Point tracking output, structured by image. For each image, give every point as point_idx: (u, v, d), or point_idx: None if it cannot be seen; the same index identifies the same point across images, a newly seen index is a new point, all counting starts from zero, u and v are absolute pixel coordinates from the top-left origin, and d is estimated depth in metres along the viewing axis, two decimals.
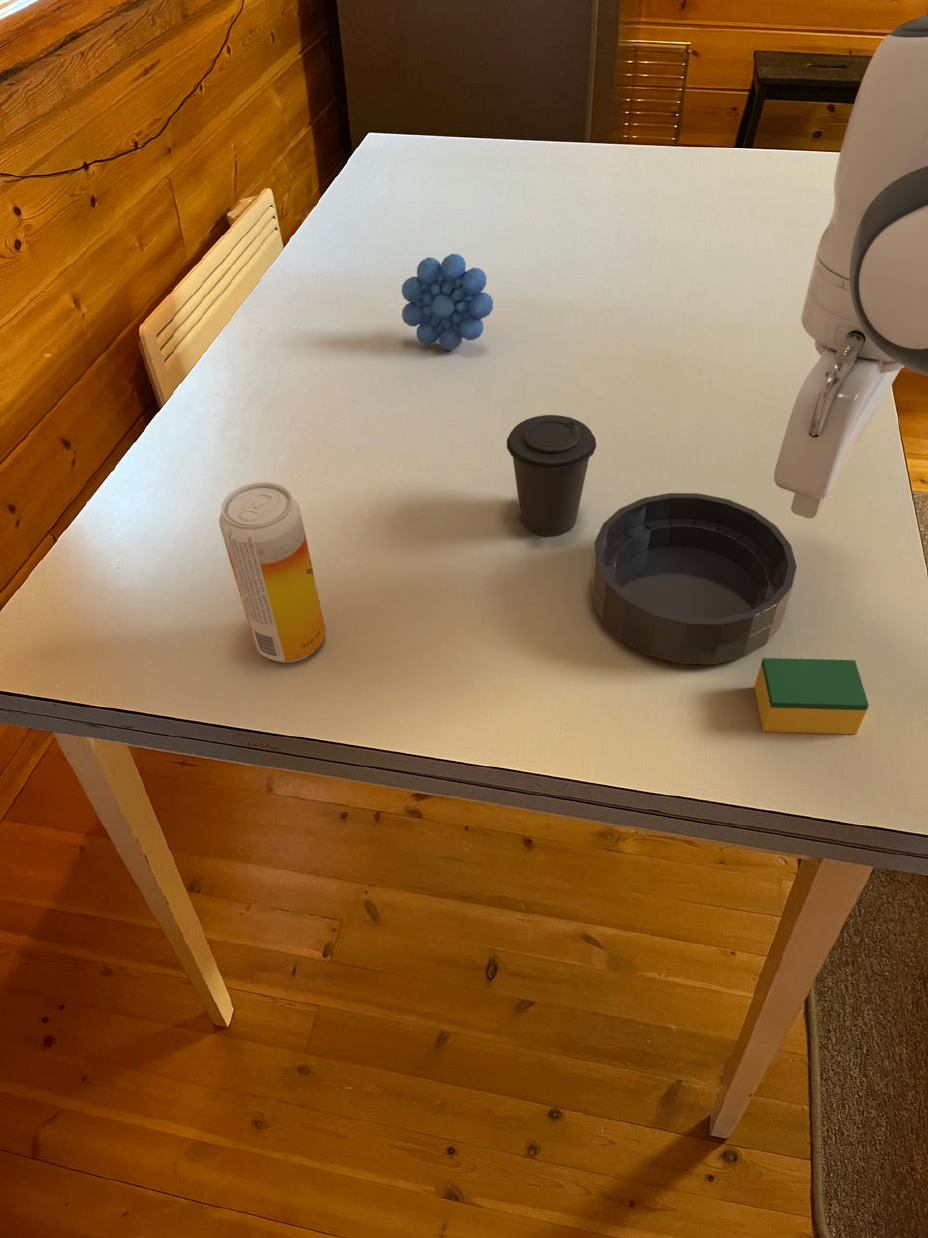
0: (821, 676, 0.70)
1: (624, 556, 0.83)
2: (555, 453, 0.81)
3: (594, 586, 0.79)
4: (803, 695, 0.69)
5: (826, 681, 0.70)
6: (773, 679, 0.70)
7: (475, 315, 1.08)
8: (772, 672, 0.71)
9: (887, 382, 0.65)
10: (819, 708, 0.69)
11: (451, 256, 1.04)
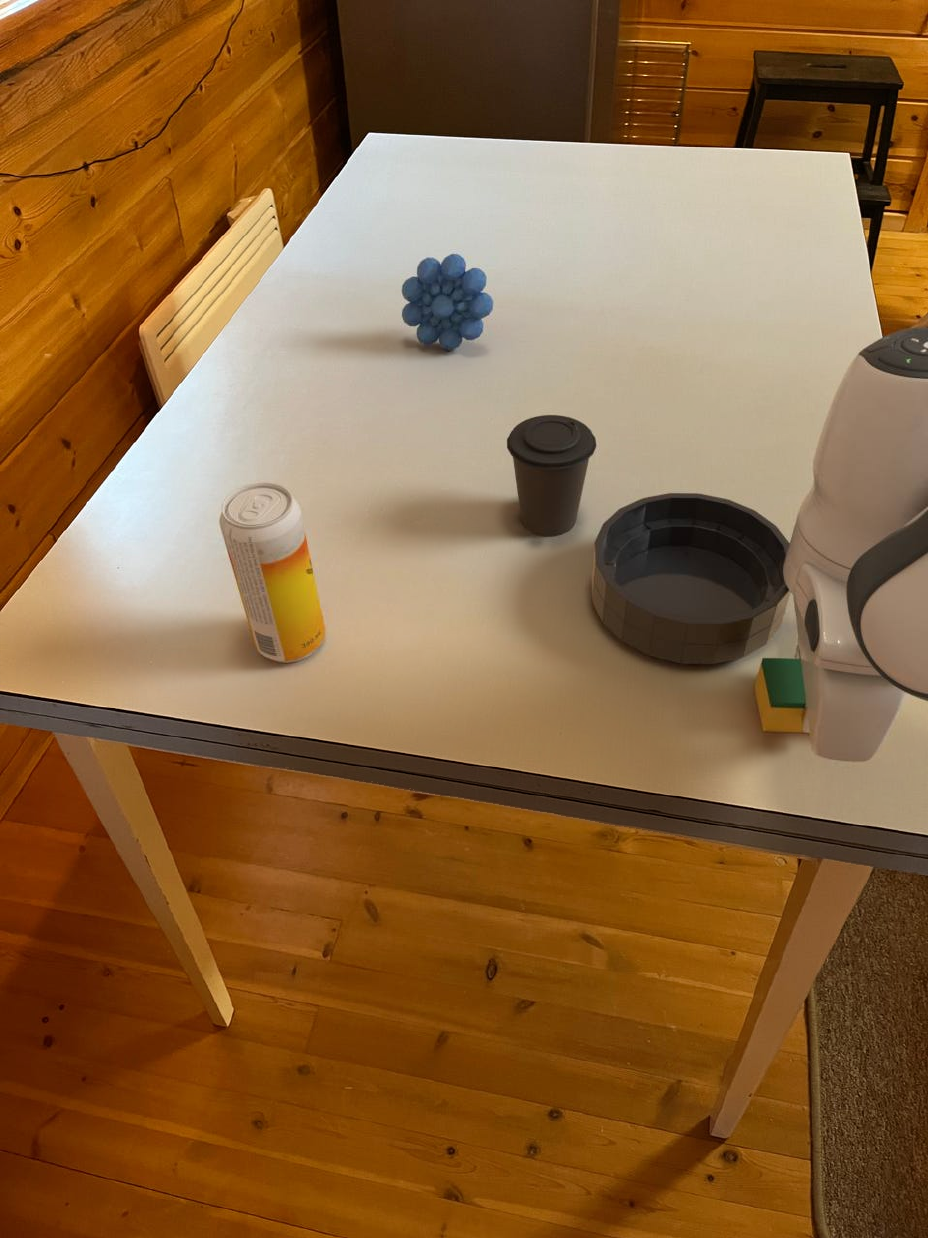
0: None
1: (624, 556, 0.83)
2: (555, 453, 0.81)
3: (594, 586, 0.79)
4: (803, 695, 0.69)
5: None
6: (773, 679, 0.70)
7: (475, 315, 1.08)
8: (772, 672, 0.71)
9: (809, 660, 0.65)
10: None
11: (451, 256, 1.04)
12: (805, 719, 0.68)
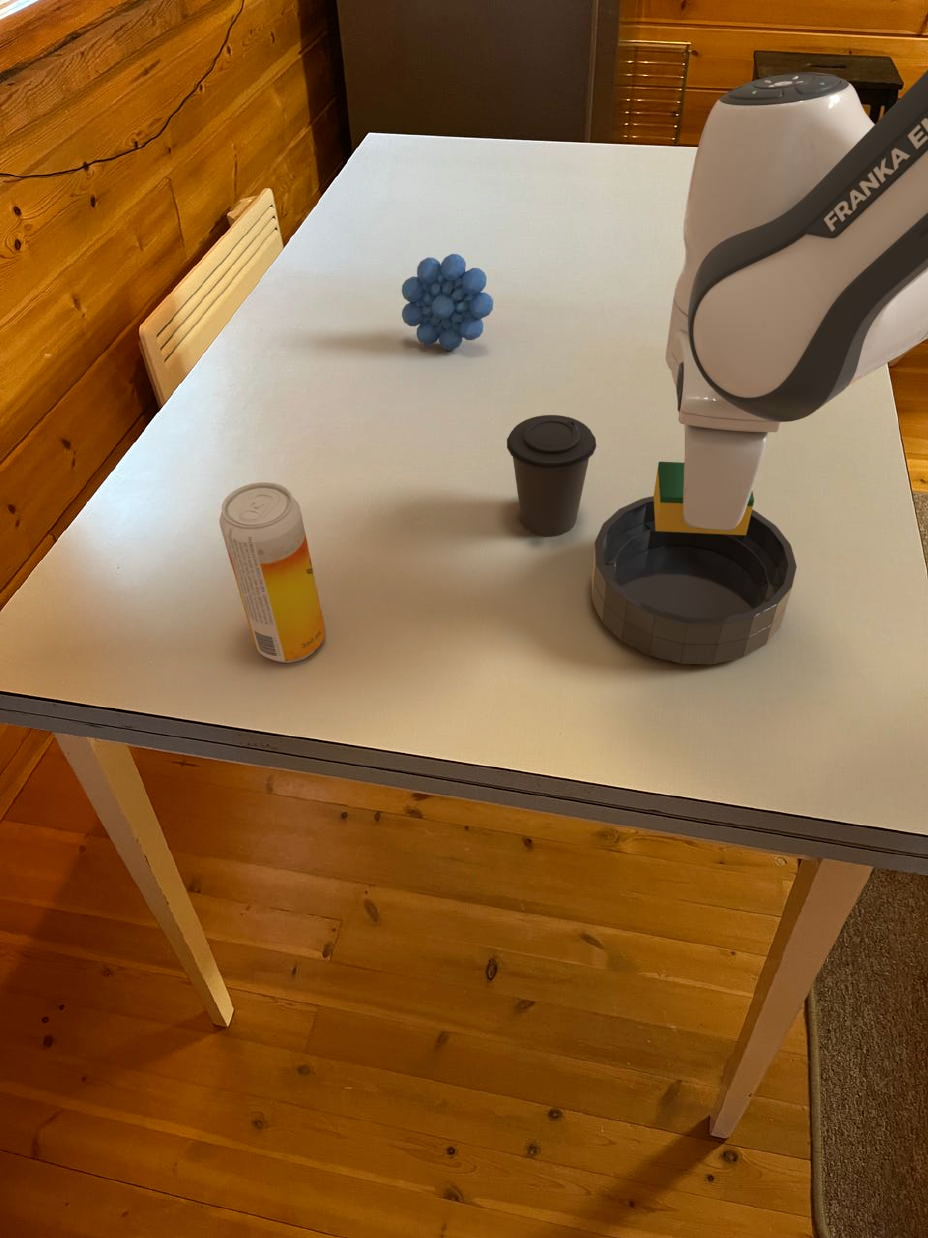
0: None
1: (624, 556, 0.83)
2: (555, 453, 0.81)
3: (594, 586, 0.79)
4: None
5: None
6: (665, 478, 0.72)
7: (475, 315, 1.08)
8: (666, 472, 0.73)
9: None
10: None
11: (451, 256, 1.04)
12: None
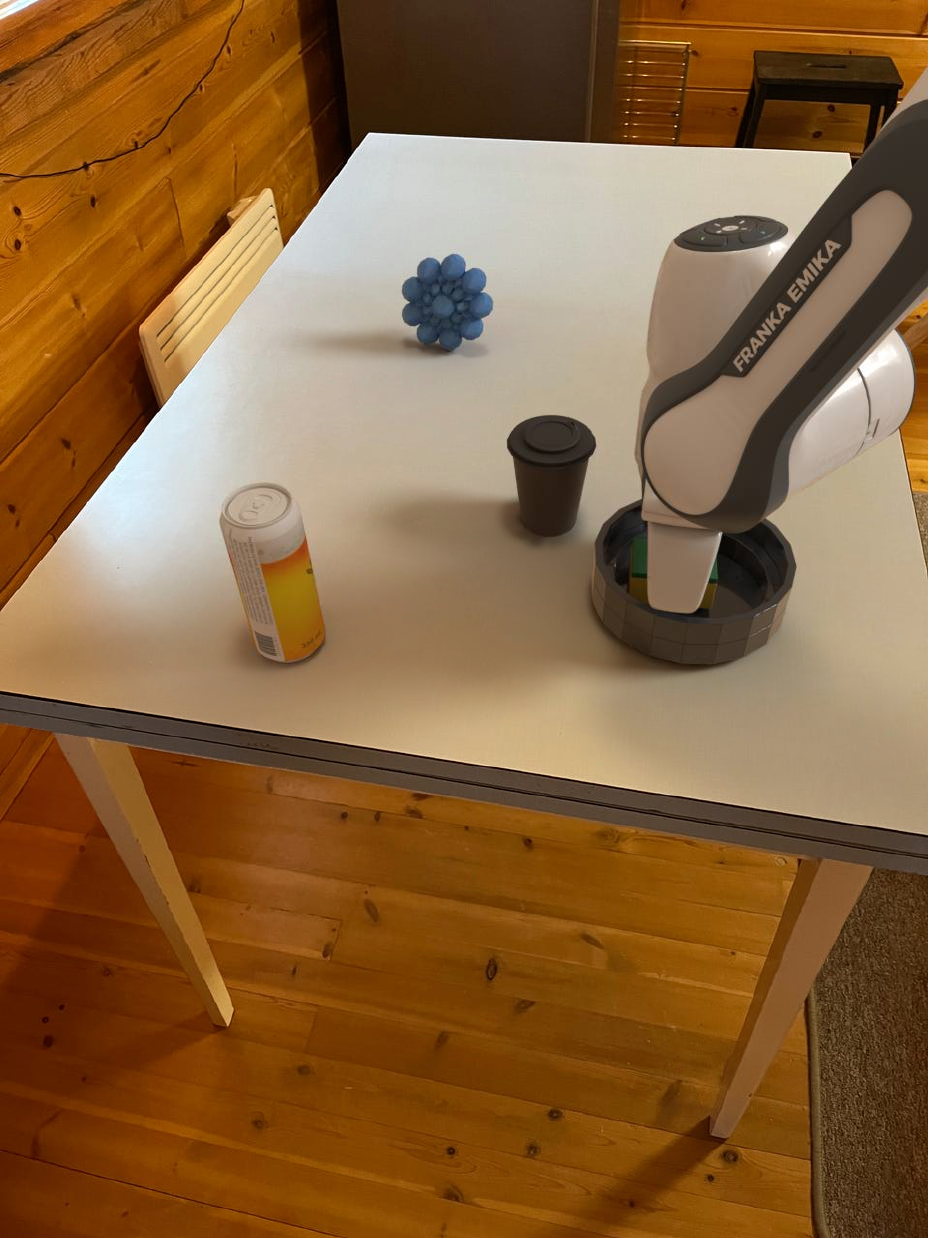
0: None
1: (624, 556, 0.83)
2: (555, 453, 0.81)
3: (594, 586, 0.79)
4: None
5: None
6: (638, 554, 0.79)
7: (475, 315, 1.08)
8: (638, 549, 0.79)
9: None
10: None
11: (451, 256, 1.04)
12: None
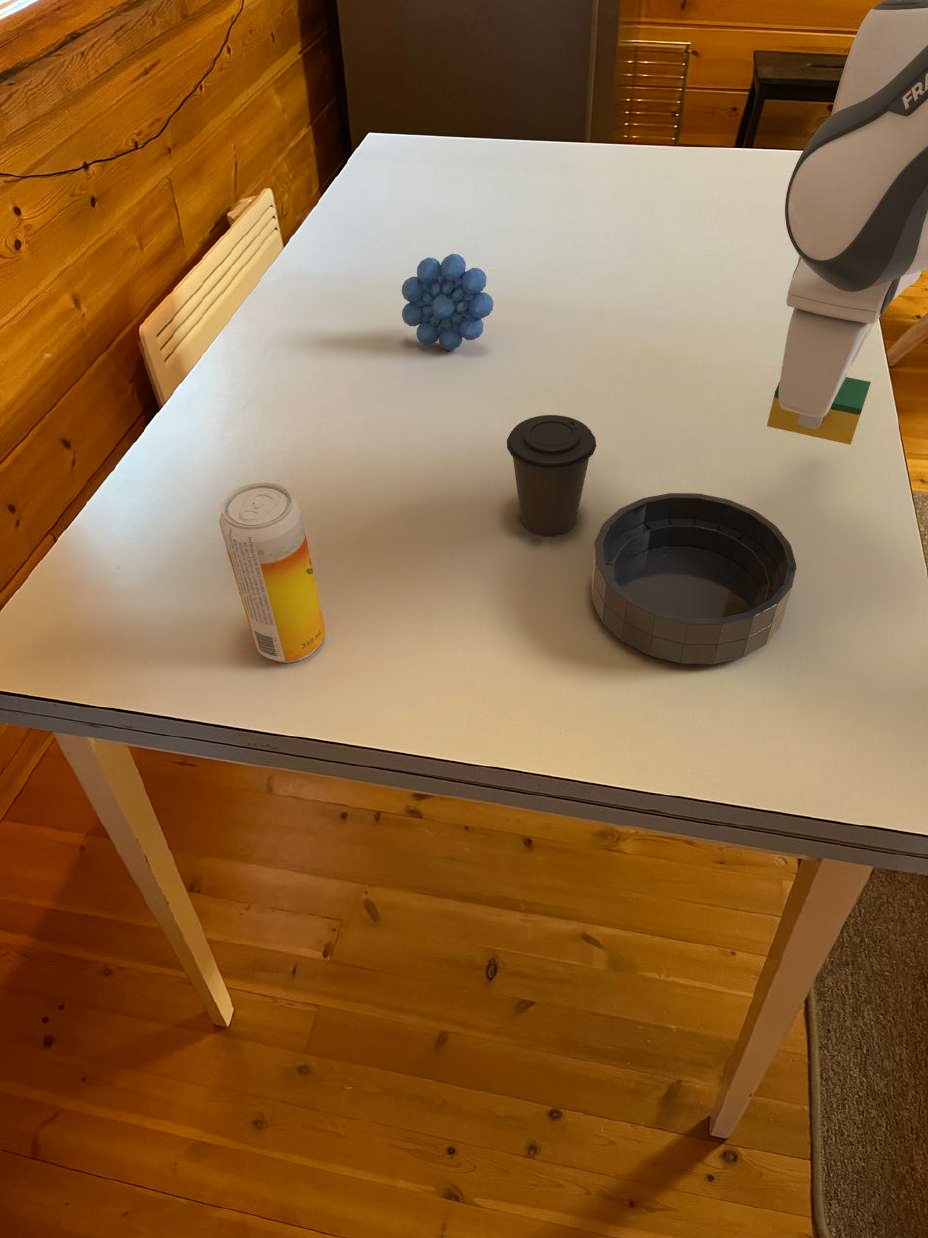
0: None
1: (624, 556, 0.83)
2: (555, 453, 0.81)
3: (594, 586, 0.79)
4: None
5: None
6: None
7: (475, 315, 1.08)
8: None
9: None
10: None
11: (451, 256, 1.04)
12: None
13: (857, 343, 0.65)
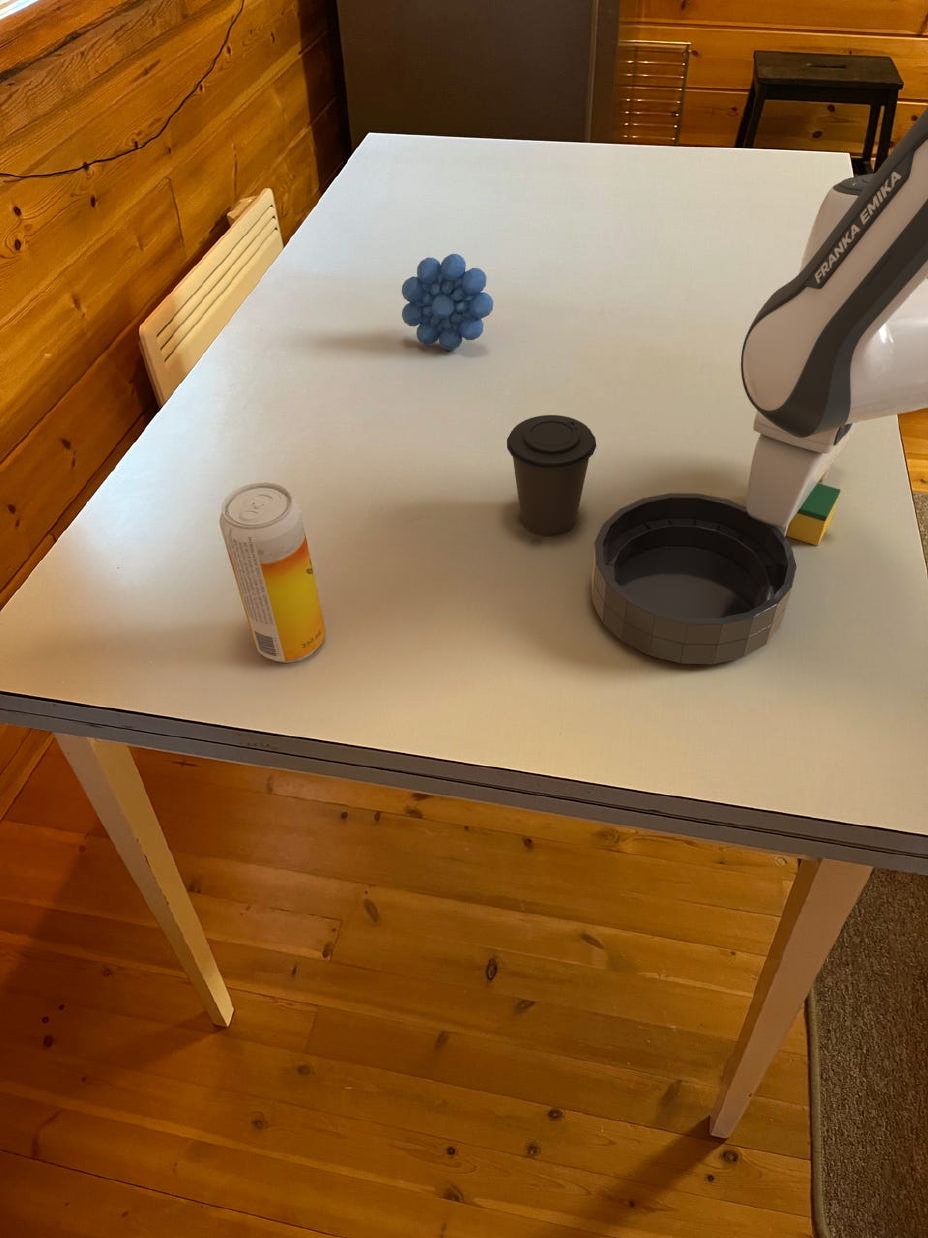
0: None
1: (624, 556, 0.83)
2: (555, 453, 0.81)
3: (594, 586, 0.79)
4: None
5: None
6: None
7: (475, 315, 1.08)
8: None
9: None
10: None
11: (451, 256, 1.04)
12: None
13: (812, 469, 0.73)
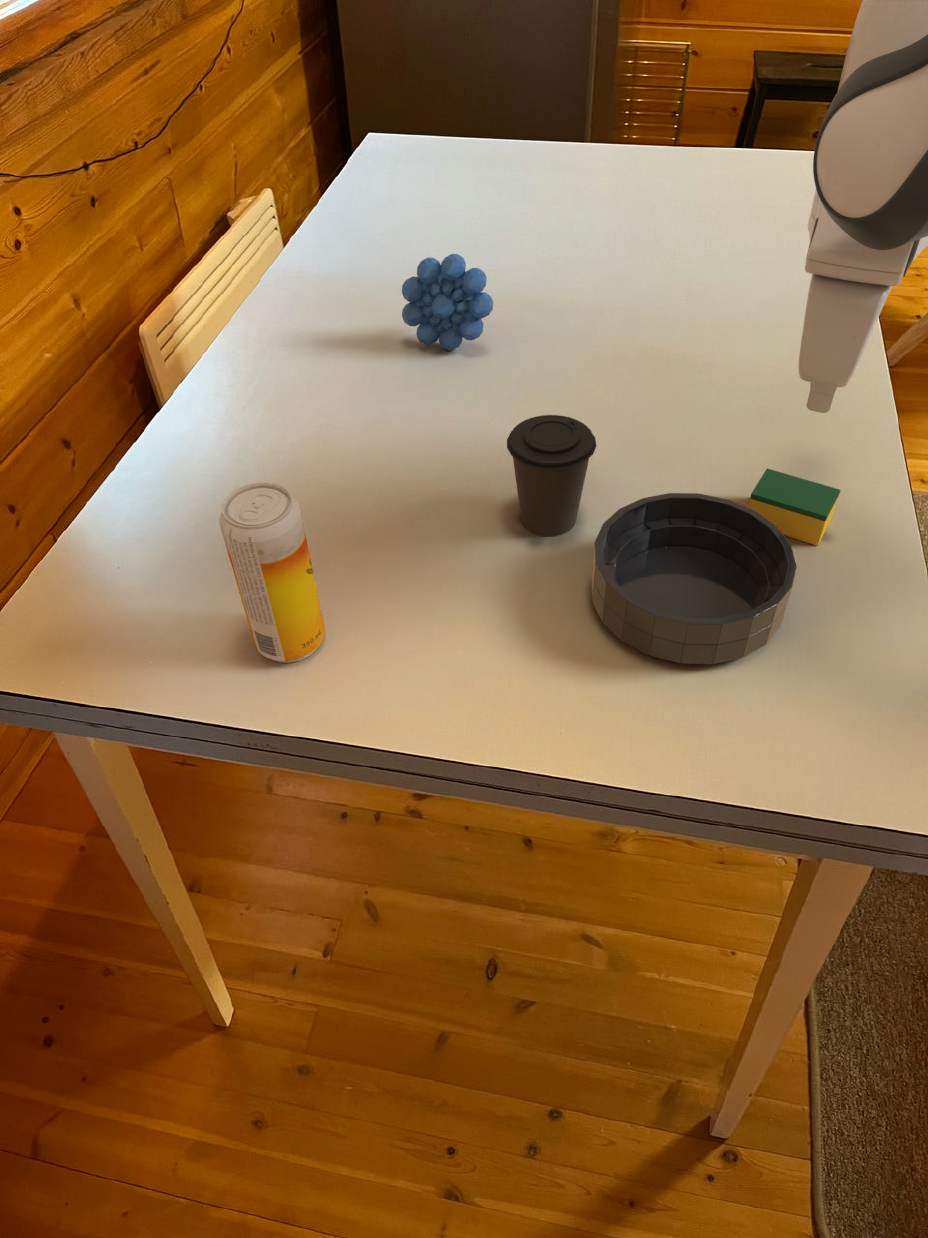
0: (803, 490, 0.86)
1: (624, 556, 0.83)
2: (555, 453, 0.81)
3: (594, 586, 0.79)
4: (779, 496, 0.85)
5: (805, 494, 0.86)
6: (764, 481, 0.87)
7: (475, 315, 1.08)
8: (766, 477, 0.87)
9: None
10: (788, 510, 0.85)
11: (451, 256, 1.04)
12: None
13: (881, 307, 0.63)
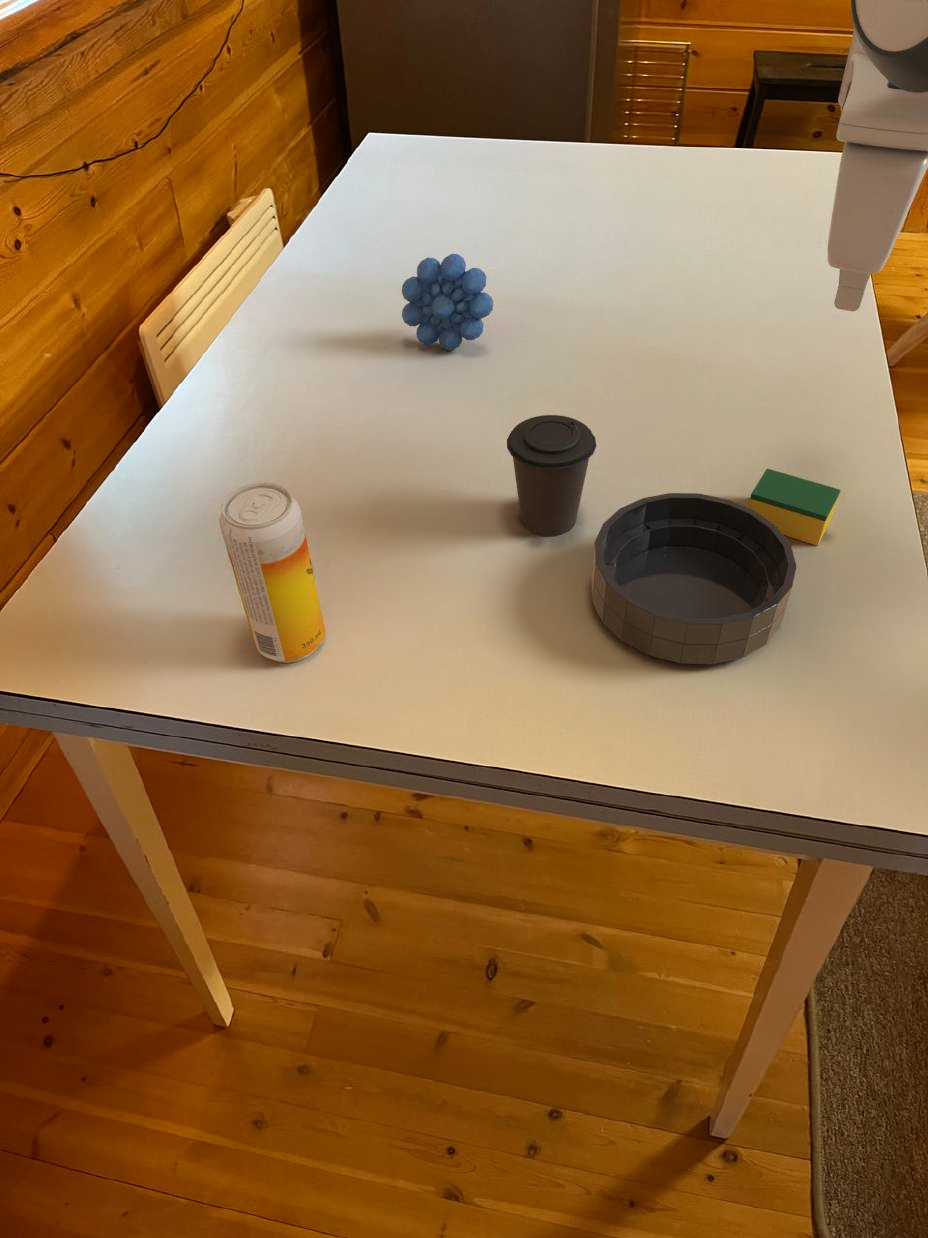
0: (803, 490, 0.86)
1: (624, 556, 0.83)
2: (555, 453, 0.81)
3: (594, 586, 0.79)
4: (779, 496, 0.85)
5: (805, 494, 0.86)
6: (764, 481, 0.87)
7: (475, 315, 1.08)
8: (766, 477, 0.87)
9: None
10: (788, 510, 0.85)
11: (451, 256, 1.04)
12: None
13: (921, 176, 0.57)
